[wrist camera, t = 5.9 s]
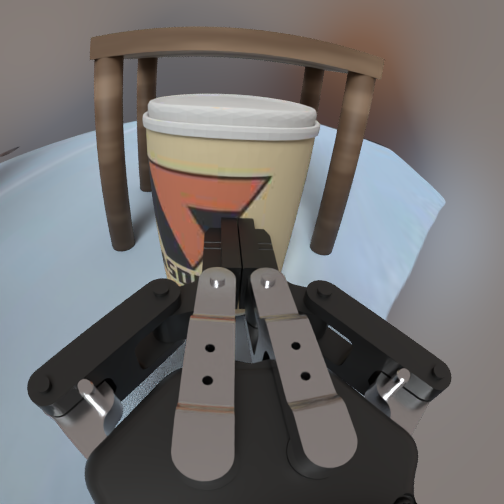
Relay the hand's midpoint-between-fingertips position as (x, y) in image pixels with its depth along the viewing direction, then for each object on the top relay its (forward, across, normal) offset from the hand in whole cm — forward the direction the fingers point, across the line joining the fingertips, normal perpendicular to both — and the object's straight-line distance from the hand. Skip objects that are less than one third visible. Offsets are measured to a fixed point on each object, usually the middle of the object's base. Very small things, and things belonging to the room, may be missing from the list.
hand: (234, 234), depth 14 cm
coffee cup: (+4, 0, +6) cm, 8 cm away
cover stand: (+13, 0, +6) cm, 15 cm away
